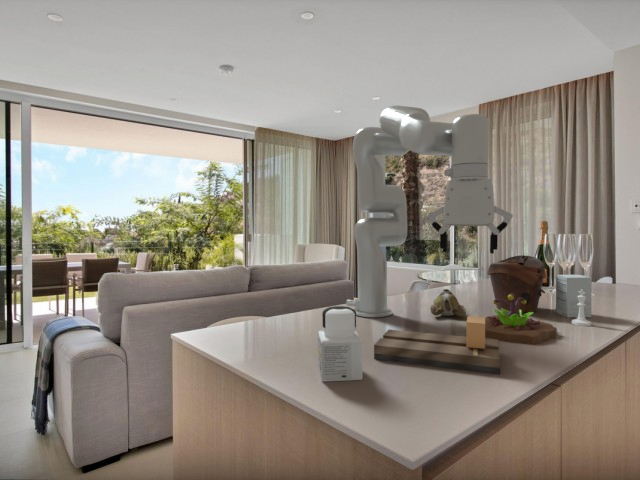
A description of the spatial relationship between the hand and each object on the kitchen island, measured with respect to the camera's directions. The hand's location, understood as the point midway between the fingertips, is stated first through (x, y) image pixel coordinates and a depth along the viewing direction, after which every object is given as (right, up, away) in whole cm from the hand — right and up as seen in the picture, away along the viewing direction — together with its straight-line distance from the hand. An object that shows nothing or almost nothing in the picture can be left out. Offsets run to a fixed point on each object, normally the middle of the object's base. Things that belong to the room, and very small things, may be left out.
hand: (468, 252), depth 87 cm
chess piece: (+43, -22, +28) cm, 56 cm away
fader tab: (+1, -22, -2) cm, 22 cm away
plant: (+19, -23, +19) cm, 35 cm away
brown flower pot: (+35, -21, +49) cm, 63 cm away
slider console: (-7, -23, +1) cm, 24 cm away
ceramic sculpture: (+8, -22, +41) cm, 47 cm away
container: (-29, -24, -9) cm, 38 cm away
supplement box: (+48, -21, +39) cm, 65 cm away
